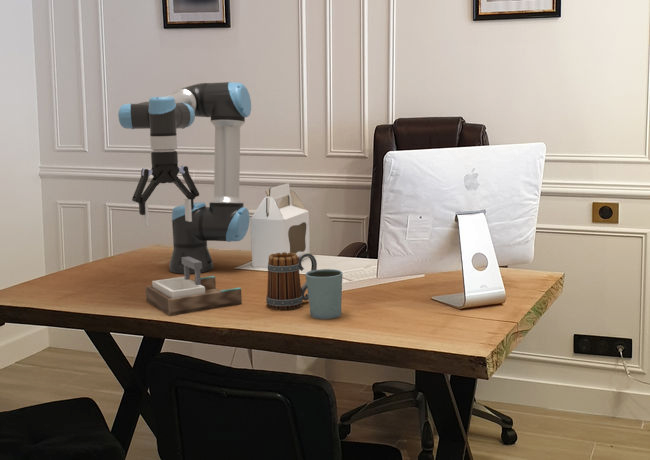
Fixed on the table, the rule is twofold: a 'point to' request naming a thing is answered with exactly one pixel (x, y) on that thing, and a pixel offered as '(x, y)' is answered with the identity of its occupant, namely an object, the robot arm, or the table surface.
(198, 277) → the white box with handle
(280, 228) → the gable box
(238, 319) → the table surface
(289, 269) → the mug
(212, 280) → the bay
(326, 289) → the teal coffee mug
